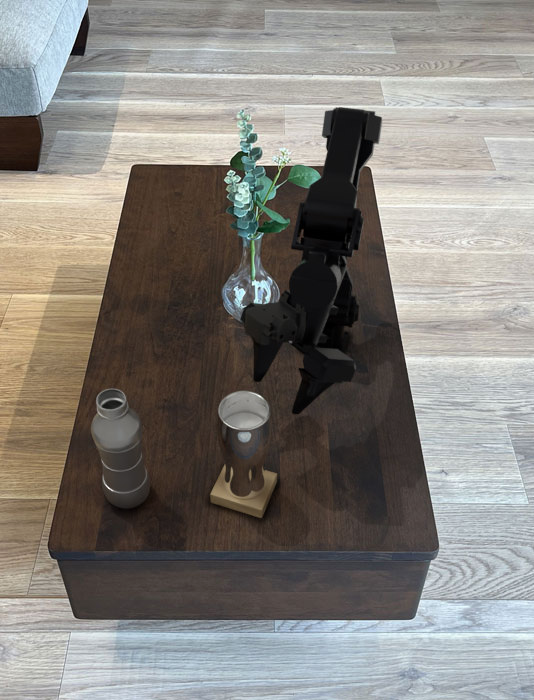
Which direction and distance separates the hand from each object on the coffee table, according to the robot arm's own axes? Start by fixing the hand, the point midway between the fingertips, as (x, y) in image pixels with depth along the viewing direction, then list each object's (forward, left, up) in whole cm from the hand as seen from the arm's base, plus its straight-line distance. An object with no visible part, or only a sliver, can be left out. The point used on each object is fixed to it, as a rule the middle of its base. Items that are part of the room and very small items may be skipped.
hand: (275, 397), depth 109 cm
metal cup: (+8, -1, -10) cm, 13 cm away
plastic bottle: (+15, -16, -12) cm, 25 cm away
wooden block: (+9, -1, -12) cm, 14 cm away
